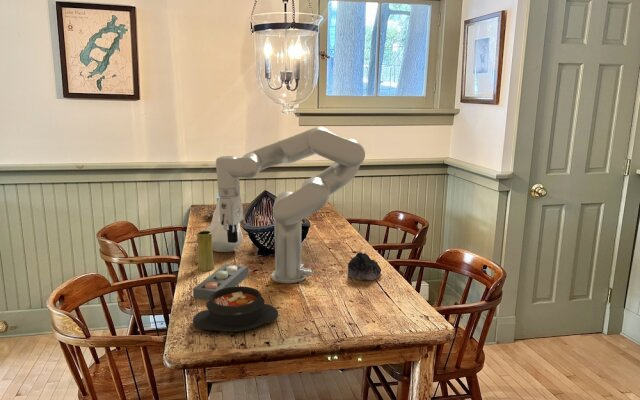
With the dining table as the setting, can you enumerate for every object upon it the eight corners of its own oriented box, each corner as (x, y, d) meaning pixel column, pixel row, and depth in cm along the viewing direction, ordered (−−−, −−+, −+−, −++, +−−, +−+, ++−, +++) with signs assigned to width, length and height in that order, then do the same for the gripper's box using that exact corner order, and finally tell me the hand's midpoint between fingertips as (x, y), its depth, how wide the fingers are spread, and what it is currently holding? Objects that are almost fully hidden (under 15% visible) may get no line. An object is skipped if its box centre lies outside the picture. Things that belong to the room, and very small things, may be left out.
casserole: (193, 343, 138) (192, 314, 136) (192, 313, 155) (190, 287, 153) (284, 331, 144) (283, 304, 142) (272, 304, 162) (272, 279, 160)
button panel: (248, 275, 186) (247, 266, 185) (218, 301, 163) (218, 291, 162) (225, 272, 188) (225, 263, 187) (193, 298, 165) (193, 288, 165)
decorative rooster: (243, 244, 200) (249, 188, 211) (203, 239, 196) (211, 182, 207) (235, 263, 222) (241, 211, 232) (199, 258, 218) (206, 206, 229)
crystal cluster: (372, 268, 195) (370, 243, 193) (389, 278, 182) (387, 251, 181) (341, 275, 191) (338, 250, 189) (355, 285, 178) (353, 258, 176)
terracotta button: (219, 289, 169) (219, 282, 168) (214, 294, 165) (214, 287, 165) (209, 288, 170) (208, 281, 169) (203, 293, 166) (202, 285, 166)
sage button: (229, 278, 176) (229, 271, 176) (224, 282, 173) (224, 275, 172) (219, 277, 177) (219, 270, 177) (214, 281, 174) (213, 274, 173)
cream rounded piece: (239, 272, 184) (239, 266, 183) (234, 276, 180) (234, 270, 180) (229, 271, 185) (229, 265, 184) (224, 275, 181) (224, 268, 181)
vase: (210, 272, 189) (208, 235, 185) (195, 270, 190) (193, 234, 186) (216, 266, 194) (215, 230, 191) (202, 265, 196) (200, 229, 192)
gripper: (229, 197, 168) (233, 249, 172) (247, 187, 182) (250, 236, 186) (209, 196, 170) (213, 248, 174) (228, 187, 184) (232, 235, 188)
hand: (232, 241), depth 180 cm, fingers closed
